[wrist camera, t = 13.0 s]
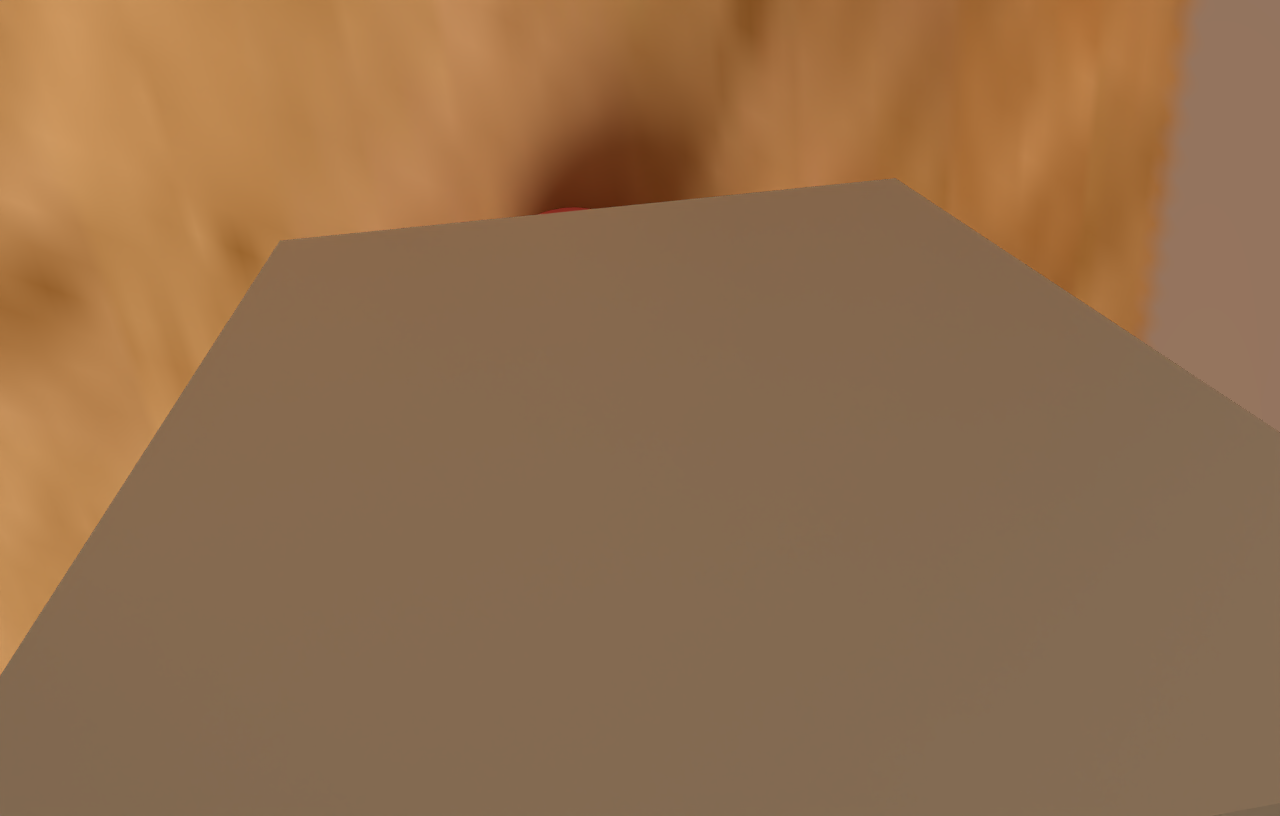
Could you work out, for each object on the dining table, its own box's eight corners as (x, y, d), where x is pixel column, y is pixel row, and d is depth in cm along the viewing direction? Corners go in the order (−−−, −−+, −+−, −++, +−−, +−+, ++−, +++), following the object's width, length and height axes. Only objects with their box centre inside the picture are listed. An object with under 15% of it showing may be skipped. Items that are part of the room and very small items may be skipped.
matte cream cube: (856, 622, 15) (1222, 1337, 8) (403, 691, 14) (305, 1560, 7) (895, 178, 11) (1721, 725, 4) (279, 240, 11) (-262, 1084, 3)
